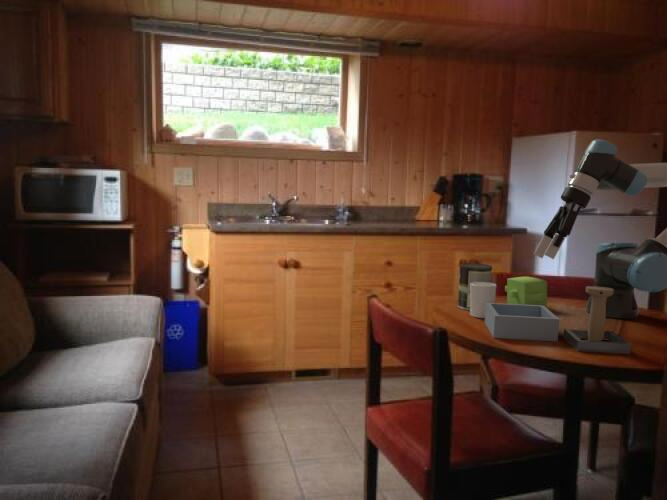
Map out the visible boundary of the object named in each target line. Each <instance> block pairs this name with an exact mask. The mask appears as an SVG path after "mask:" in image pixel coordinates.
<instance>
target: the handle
mask: <svg viewBox="0 0 667 500" xmlns="http://www.w3.org/2000/svg"><path fill="white" fill-rule="evenodd" d="M585 292H586V293H587V294H588V295H591V296H592V301H591V308H590V313H589V315H588V316H589V317H588V323H587V330H588V338H589V339H588V340H587V341H602V340H603V337H604V332H605V331H606V321H607V320H606V319H607V317H606V299H607V297H609V296H611V295H613V293H614V289H612V288H607V287H597V286H594V285H592V286H591V285H588V286H585Z"/></svg>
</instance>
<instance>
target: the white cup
mask: <svg viewBox="0 0 667 500" xmlns="http://www.w3.org/2000/svg"><path fill="white" fill-rule="evenodd" d="M496 291H497V284H496V283H493V282H491V283H488V282H471V283H470V311H469V316H470V317H474V318H479V319H485V309H486V303H495V299H496Z"/></svg>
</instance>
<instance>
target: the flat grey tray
mask: <svg viewBox="0 0 667 500" xmlns="http://www.w3.org/2000/svg"><path fill="white" fill-rule="evenodd" d="M562 335H563V336H562V337H563V339H564V340H565V341H566V342H567V343H568V344H569V345H570V346H572V348H574V349H575V350H576V351H577V352H583V353H584V352H585V353H589V352H590V353H602V354H603V353H604V354H605V353H606V354H607V353H608V354H620V355H622V354H623V355H630V354H631V345H632V344H631V343H630V342H628V341H627V340H626V339H625V338H623V337H621V336H620V335H619V334H617V333H616V332H614V331H612V330H605V332H604V337H603V339H609V340H610V342H609V341H588V339H589V338H588V329H583V328H582V329H581V328H563V333H562ZM581 339H585V340H581Z"/></svg>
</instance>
